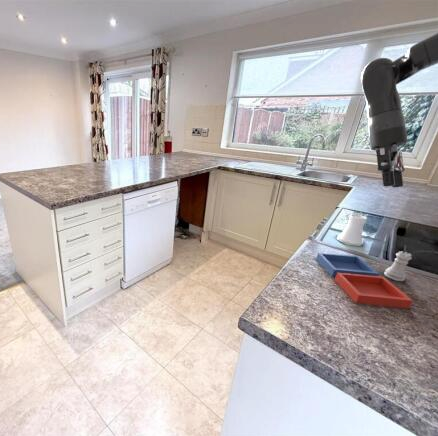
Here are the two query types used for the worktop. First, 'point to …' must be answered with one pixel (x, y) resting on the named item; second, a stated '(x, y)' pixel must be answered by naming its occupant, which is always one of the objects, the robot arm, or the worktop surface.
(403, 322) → the worktop surface
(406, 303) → the red tray
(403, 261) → the rook chess piece
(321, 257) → the blue tray
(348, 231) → the vase
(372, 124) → the robot arm
